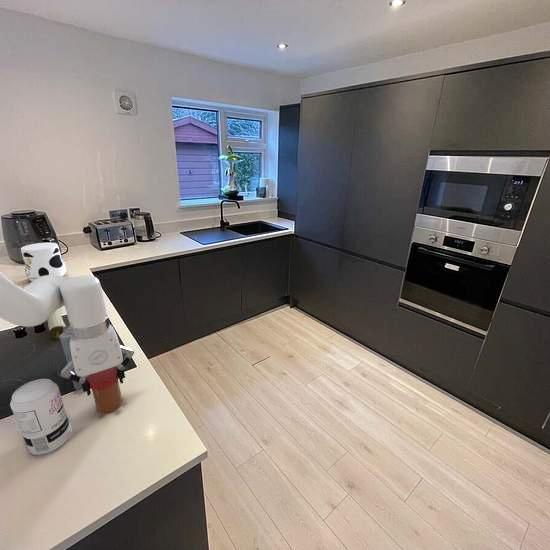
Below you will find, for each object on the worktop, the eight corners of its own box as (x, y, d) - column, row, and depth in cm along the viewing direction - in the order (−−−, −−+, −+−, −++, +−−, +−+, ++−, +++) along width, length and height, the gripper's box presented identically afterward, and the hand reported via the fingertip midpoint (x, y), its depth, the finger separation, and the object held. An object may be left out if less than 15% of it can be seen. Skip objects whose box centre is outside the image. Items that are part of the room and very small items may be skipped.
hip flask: (90, 356, 96) (77, 302, 88) (104, 354, 97) (91, 301, 89) (73, 390, 81) (54, 330, 74) (89, 388, 82) (72, 328, 75)
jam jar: (92, 414, 74) (84, 385, 71) (103, 396, 80) (96, 369, 76) (117, 413, 75) (110, 384, 71) (126, 395, 80) (120, 368, 77)
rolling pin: (47, 309, 124) (44, 299, 122) (63, 306, 127) (60, 296, 125) (50, 346, 100) (46, 334, 98) (69, 340, 103) (66, 329, 101)
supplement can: (28, 437, 68) (7, 388, 62) (70, 419, 73) (54, 371, 67) (29, 464, 62) (7, 411, 56) (74, 442, 67) (58, 392, 61)
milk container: (19, 282, 149) (8, 249, 143) (51, 271, 165) (42, 240, 158) (46, 286, 146) (36, 252, 139) (75, 274, 161) (68, 243, 155)
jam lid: (89, 394, 70) (88, 388, 69) (87, 378, 75) (86, 372, 74) (121, 383, 73) (119, 377, 73) (116, 368, 79) (115, 362, 78)
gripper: (44, 347, 61) (65, 410, 67) (133, 323, 70) (144, 381, 77) (45, 330, 66) (64, 390, 73) (127, 311, 76) (138, 365, 82)
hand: (105, 385), depth 75 cm, fingers closed on jam lid, 6 cm apart
